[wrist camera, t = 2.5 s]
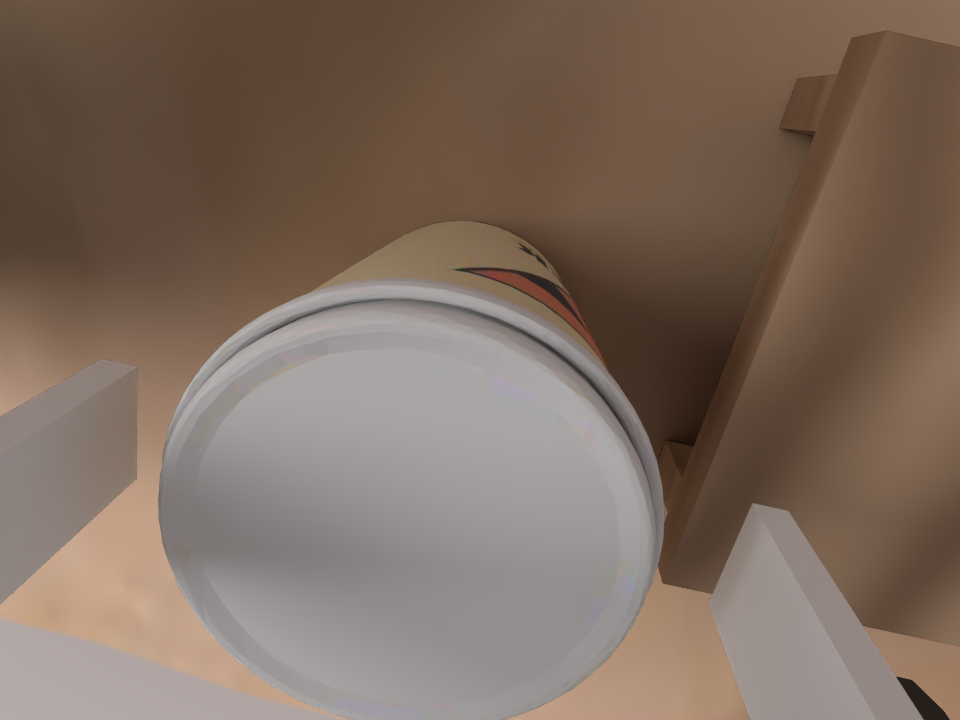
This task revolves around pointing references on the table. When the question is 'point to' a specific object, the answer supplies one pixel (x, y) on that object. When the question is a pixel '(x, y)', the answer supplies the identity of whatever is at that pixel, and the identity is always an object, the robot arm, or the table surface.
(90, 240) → the table surface
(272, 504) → the coffee cup
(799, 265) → the footstool
